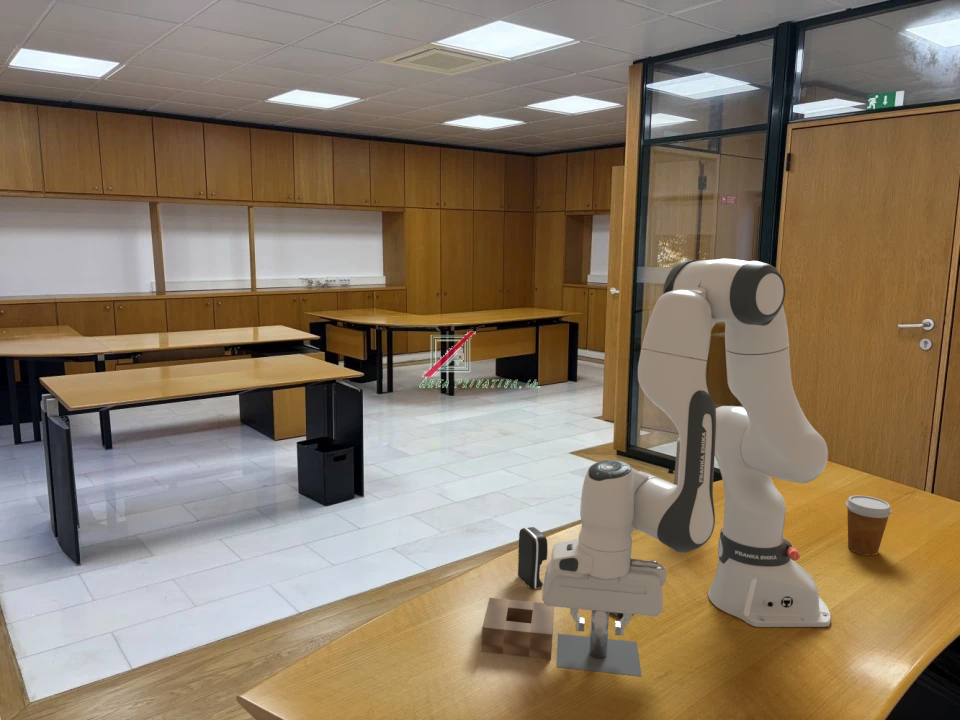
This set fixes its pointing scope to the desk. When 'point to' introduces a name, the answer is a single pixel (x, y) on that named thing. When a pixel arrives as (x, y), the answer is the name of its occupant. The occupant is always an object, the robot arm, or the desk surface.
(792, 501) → the desk surface
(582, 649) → the mat
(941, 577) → the desk surface
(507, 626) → the hole block
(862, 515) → the disposable coffee cup
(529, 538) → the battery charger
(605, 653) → the peg
